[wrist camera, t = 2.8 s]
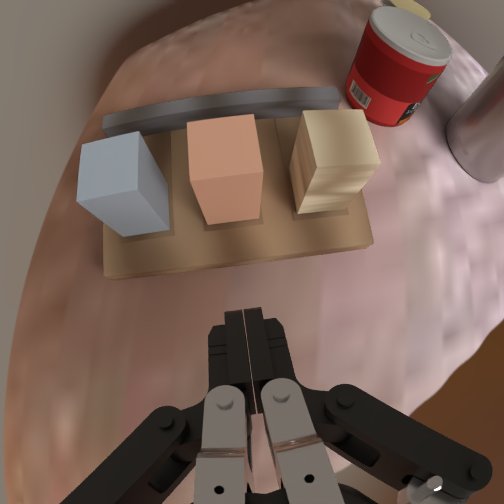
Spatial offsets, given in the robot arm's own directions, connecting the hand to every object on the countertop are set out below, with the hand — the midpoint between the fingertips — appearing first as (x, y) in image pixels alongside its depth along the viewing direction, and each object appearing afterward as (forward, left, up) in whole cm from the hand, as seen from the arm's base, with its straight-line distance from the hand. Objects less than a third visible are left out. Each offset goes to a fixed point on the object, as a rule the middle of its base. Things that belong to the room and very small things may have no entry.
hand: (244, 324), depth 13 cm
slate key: (+7, -10, -10) cm, 16 cm away
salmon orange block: (0, -10, -10) cm, 14 cm away
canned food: (-17, -21, -13) cm, 30 cm away
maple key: (-7, -10, -10) cm, 16 cm away
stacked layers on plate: (-26, -35, -13) cm, 45 cm away
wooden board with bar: (0, -13, -13) cm, 18 cm away
